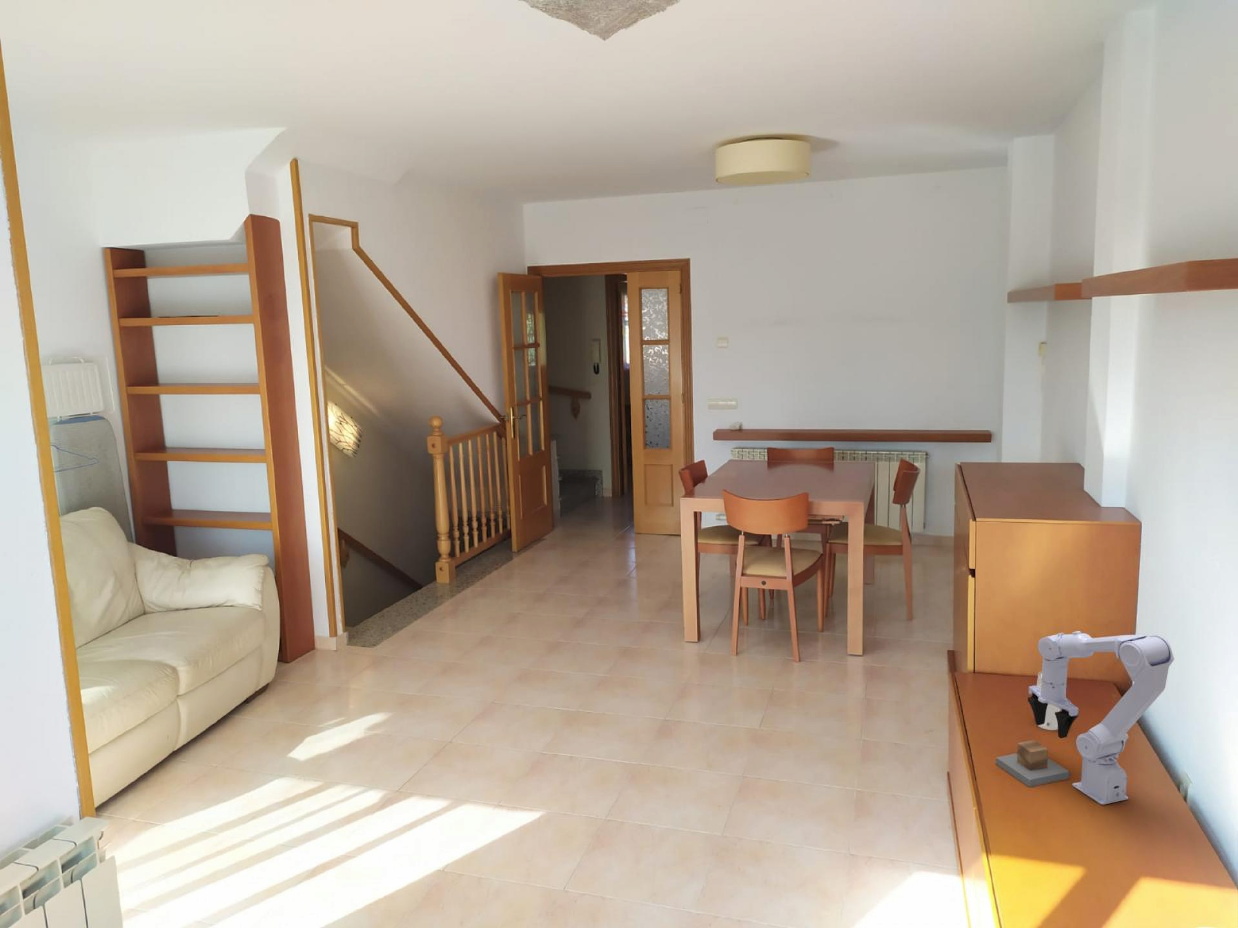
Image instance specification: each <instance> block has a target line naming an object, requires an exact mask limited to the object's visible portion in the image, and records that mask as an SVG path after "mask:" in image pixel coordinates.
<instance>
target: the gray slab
mask: <svg viewBox="0 0 1238 928" xmlns="http://www.w3.org/2000/svg"><path fill="white" fill-rule="evenodd" d="M995 759H996V760H995V765H996V766H998V767H999V768H1001V769H1002V770H1004V771H1005V772H1006V773H1008V774H1009V775H1010V776H1013V777H1014V778H1016V779H1017V780H1018V781H1020V782H1021V783H1023V784H1024V785H1025V786H1027V787H1028V788H1031V787H1037V786H1041V785H1046V784H1050V783H1055V782H1060V781H1063V780H1065V781H1066V780H1068V779H1070V771H1069V770H1068V769H1066V768H1065V767H1063V766H1061V765H1059V764H1058V763H1057V762H1055V761H1053V760H1052V759H1051V758H1049V757H1048V764H1047V768H1042V769H1036V770H1029V769H1027V768H1026V767H1025V766H1023V765H1022V764H1020V763H1019V762H1018V761H1017V753H1012V754H1007V755H1002V756H998V757H997V756H996V758H995Z"/></svg>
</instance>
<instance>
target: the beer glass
mask: <svg viewBox="0 0 1238 928" xmlns="http://www.w3.org/2000/svg"><path fill="white" fill-rule="evenodd" d="M1041 680H1042V670H1041V671H1039V672H1038V673H1037V680H1036V686H1037V687H1040V688H1041ZM1059 711H1061V709H1060V708H1058V707H1056V706H1054V705H1051V704H1048V706H1047V710H1046V717H1045V723H1044V724H1042V725H1037V726H1038V727H1039V728H1040V729H1043V730H1046V731H1058V723H1057V718H1056V716H1055V712H1059Z"/></svg>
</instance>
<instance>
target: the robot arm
mask: <svg viewBox="0 0 1238 928" xmlns="http://www.w3.org/2000/svg"><path fill="white" fill-rule="evenodd" d="M1037 649H1038V651H1039V654H1040V655H1041V657H1042V663H1041V665H1042V666H1041V671H1042V680H1041V688H1040V687H1037V685H1031V686H1028V694H1029V695H1031V696H1028V697H1027V702H1028V704H1029V705H1030V708H1031V710H1032V712H1033V717H1034V720H1035V725H1037V726H1038V725H1042V724H1044V723H1045V717H1046V710H1047V706H1048V704H1051V705H1054V706H1056V707H1058V708H1060V711H1059V712H1055V716H1056V718H1057V723H1058V730H1057V737H1058V738H1060V739H1065V738H1067V737H1068V734H1069V732H1070V730H1071V727H1072V724H1073V723H1074V722H1075V720H1076V719H1077V718H1078V717H1079V707H1077V706H1075V704H1073V703H1072V702H1071V700H1070V699H1068V698H1067V697H1066V695H1067V680H1068V679H1067V678H1068V664H1069V662H1070V659H1071V658H1072V659H1075V658H1078V659H1079V658H1090V657H1093V655H1094V653H1095V652H1096V653H1106V652H1107V653H1115V655H1116V656H1115V657H1116V659H1118V660H1120V661H1121V663H1122V665H1123V666H1124V668H1125V670H1126V672H1127V674H1128V676H1129V678H1130V680H1131V681H1132V682H1133V684H1132V685H1131V686H1130V687H1129V689H1128V690H1127V691H1126V692H1125V693H1124V695H1123V696H1122V697H1121V698H1120V700H1118V701H1117V702H1116V704H1115V705H1114V706H1113V708H1112V709H1111V710H1109V712H1108V714H1107V715H1106V716H1105V717H1104V718H1103V719H1102V720H1101V722H1100V723H1098V724H1096V725H1095V726H1093V727H1091V728H1090V729H1088V730H1087V732H1085V733H1080V734H1078V736H1077V738H1076V741H1075V743H1076V748H1077V751H1078V753H1079V754H1080V757H1081V758H1082V762H1081V763H1082V764H1081V765H1082V766H1081V780H1080V781H1079V782H1074V783H1072V784H1071V785H1072V786H1073V787H1074V788H1076V789H1077V790H1079V791H1080V792H1081V793H1083V794H1085V795H1086V796H1087V797H1089V798H1091V799H1092V800H1094V801H1096V803H1098V804H1100V805H1107V804H1111V803H1112V804H1113V803H1116V802H1120V801H1126V800H1128V799H1129V797H1128V795H1127V784H1128V783H1127V782H1128V774H1127V772H1126V770H1125V769H1123V768H1122V767H1121V766H1120V764H1119V763H1118V761H1117V760H1118V758H1119V754H1120V753H1122V752H1123V751H1124V750H1125V748H1126V742H1127V740H1128V739H1129V738H1130V737H1129V734H1128V731H1130V729H1131V728H1132V727H1133V726H1134V725H1135V724H1136V722H1138V720H1139V719H1140V718H1141V717H1142V716H1143V714H1144V713H1145V712H1146V711H1147V710H1148V709H1149V708H1150V707H1151V705H1152V704H1153V703H1154V702H1155V701H1156V700H1157V699H1158V697H1160V696H1161V694H1162V693H1164V691H1165V689H1166V684H1167V681H1168V674H1169V668H1170V666H1171V665H1172V663H1173V662H1174V661H1175V657H1174V654H1173V651H1172V647H1171V645H1170V643H1169V642H1168V640H1167V639H1165V638H1164V637H1162V636H1160V635H1156V634H1154V635H1153V634H1152V635H1149V637H1148V634H1124V635H1123V634H1122V635H1113V636H1102V637H1091V636H1090V635H1089V634H1088V633H1082V632H1081V631H1080V630H1078V631H1073V632H1072V633H1070V634H1069V633H1068V634H1065V633H1064V632H1059V633H1057V634H1053V635H1049V636H1045V637H1042V638H1040V639H1039V640H1038V643H1037Z"/></svg>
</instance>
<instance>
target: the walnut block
mask: <svg viewBox="0 0 1238 928" xmlns="http://www.w3.org/2000/svg"><path fill="white" fill-rule="evenodd" d="M1016 749H1017V761H1018V762H1019V763H1020V764H1022V765H1023V766H1025V767H1026V768H1027V769H1029V770H1036V769H1042V768H1047V764H1048V758H1049V748H1047V747H1046V746H1044V745H1043V744H1041V743H1040V742H1038V741H1037V740H1035V739H1034V740H1028V741H1021V742H1018V743H1017V748H1016Z"/></svg>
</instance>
